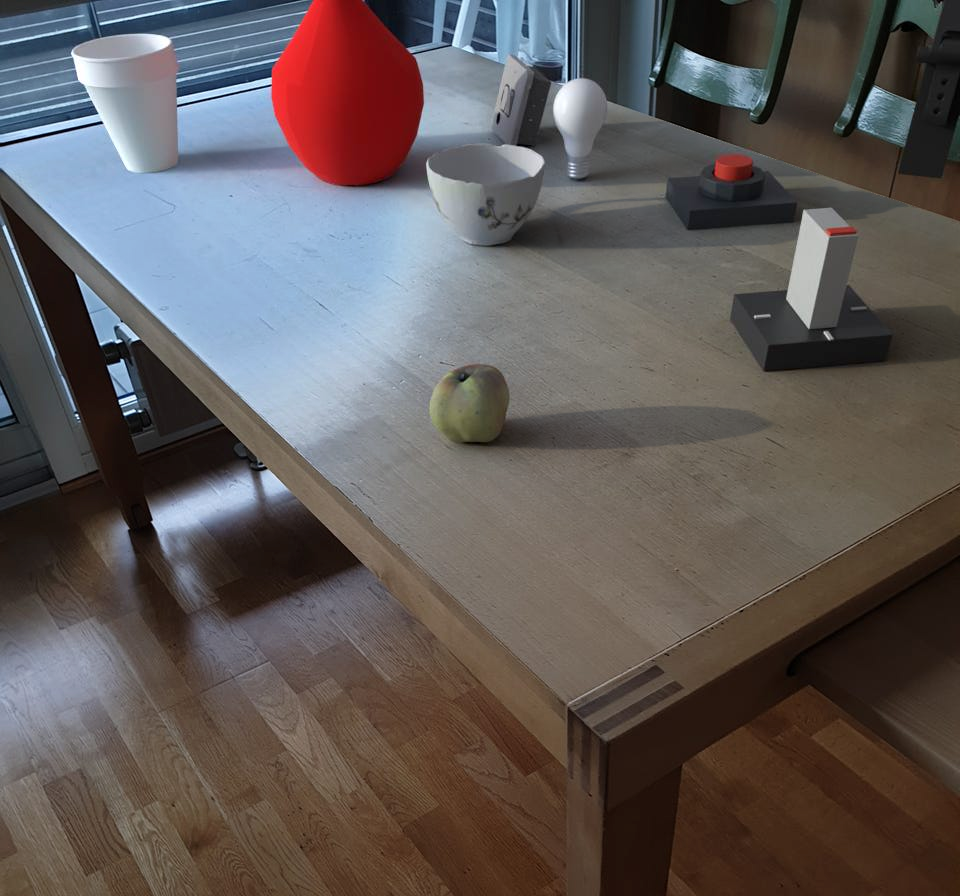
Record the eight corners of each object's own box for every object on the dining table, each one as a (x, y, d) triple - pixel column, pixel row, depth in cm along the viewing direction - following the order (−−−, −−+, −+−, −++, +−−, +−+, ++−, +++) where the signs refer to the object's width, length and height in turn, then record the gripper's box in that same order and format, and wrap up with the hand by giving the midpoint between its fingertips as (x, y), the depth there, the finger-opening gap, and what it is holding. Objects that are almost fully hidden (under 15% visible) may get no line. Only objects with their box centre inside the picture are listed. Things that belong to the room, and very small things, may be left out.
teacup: (556, 252, 103) (557, 174, 98) (441, 265, 102) (436, 186, 96) (524, 201, 114) (524, 128, 108) (420, 213, 112) (414, 139, 107)
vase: (275, 158, 127) (227, -128, 106) (410, 141, 131) (388, -141, 110) (296, 208, 115) (245, -107, 94) (444, 187, 118) (427, -121, 97)
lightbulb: (541, 181, 118) (542, 81, 110) (572, 166, 122) (575, 68, 114) (582, 192, 115) (587, 90, 107) (613, 177, 118) (619, 76, 111)
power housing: (765, 190, 114) (771, 154, 111) (793, 222, 107) (800, 185, 104) (665, 197, 113) (668, 161, 110) (687, 231, 106) (691, 193, 103)
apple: (537, 446, 77) (538, 379, 73) (440, 463, 76) (435, 396, 71) (517, 408, 81) (516, 343, 77) (424, 423, 80) (418, 358, 76)
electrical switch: (490, 130, 133) (495, 53, 126) (525, 129, 134) (532, 53, 128) (509, 152, 126) (515, 72, 120) (546, 151, 128) (554, 72, 121)
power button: (744, 169, 109) (746, 152, 108) (755, 181, 106) (758, 165, 105) (709, 171, 109) (711, 155, 107) (719, 184, 106) (722, 167, 105)
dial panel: (842, 309, 92) (849, 282, 90) (886, 361, 84) (894, 333, 83) (729, 318, 91) (733, 291, 89) (763, 372, 84) (768, 344, 82)
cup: (177, 181, 122) (148, 60, 113) (88, 179, 124) (51, 59, 115) (212, 149, 131) (188, 33, 121) (128, 147, 133) (98, 32, 123)
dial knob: (785, 299, 88) (804, 206, 82) (812, 297, 88) (832, 204, 82) (808, 329, 84) (829, 234, 78) (836, 327, 84) (859, 231, 78)
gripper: (988, -281, 62) (899, 87, 77) (950, -262, 46) (846, 197, 61) (1119, -285, 60) (1000, 95, 74) (1126, -266, 44) (973, 212, 59)
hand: (931, 142), depth 68 cm, fingers open, 13 cm apart
